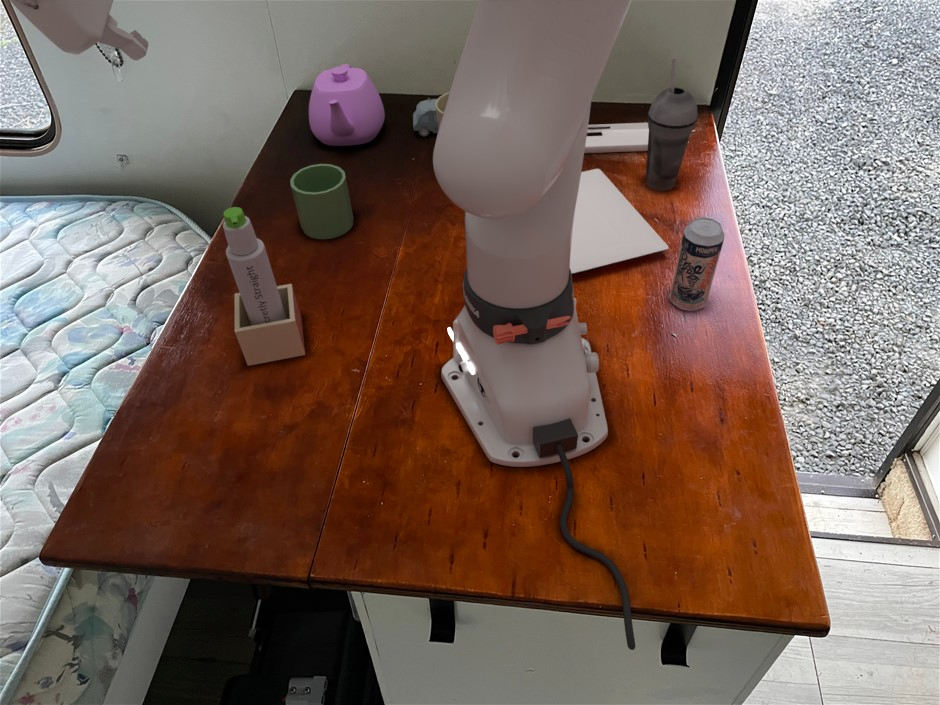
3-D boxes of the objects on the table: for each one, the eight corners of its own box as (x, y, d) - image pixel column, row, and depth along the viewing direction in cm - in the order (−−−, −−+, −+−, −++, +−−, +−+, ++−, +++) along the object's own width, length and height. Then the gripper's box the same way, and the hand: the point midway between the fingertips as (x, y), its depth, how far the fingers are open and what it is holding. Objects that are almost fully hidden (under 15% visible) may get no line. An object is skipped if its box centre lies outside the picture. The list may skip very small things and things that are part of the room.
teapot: (319, 110, 135) (306, 48, 126) (389, 107, 135) (381, 45, 126) (305, 167, 121) (290, 102, 112) (383, 163, 121) (374, 98, 112)
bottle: (255, 353, 90) (207, 224, 76) (262, 329, 93) (218, 201, 79) (289, 352, 90) (248, 223, 76) (295, 328, 93) (256, 200, 79)
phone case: (580, 153, 121) (669, 150, 120) (581, 146, 120) (670, 143, 119) (575, 132, 126) (660, 128, 125) (576, 124, 125) (662, 121, 124)
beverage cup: (683, 197, 111) (710, 72, 96) (636, 194, 112) (655, 69, 97) (683, 172, 115) (708, 49, 101) (638, 169, 117) (656, 47, 102)
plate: (520, 296, 96) (521, 285, 94) (467, 207, 111) (467, 196, 109) (667, 258, 100) (670, 246, 99) (597, 178, 115) (599, 166, 114)
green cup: (356, 234, 107) (348, 188, 101) (303, 243, 106) (292, 197, 100) (350, 205, 113) (342, 160, 107) (300, 213, 111) (288, 168, 106)
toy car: (470, 134, 126) (469, 108, 123) (414, 137, 126) (411, 111, 123) (468, 116, 131) (467, 91, 127) (414, 119, 131) (412, 94, 127)
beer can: (666, 308, 93) (682, 234, 85) (672, 286, 96) (688, 212, 88) (703, 316, 92) (723, 242, 83) (708, 293, 95) (728, 219, 86)
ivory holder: (305, 355, 90) (295, 320, 85) (247, 366, 89) (234, 331, 84) (301, 317, 95) (291, 283, 90) (246, 327, 94) (234, 293, 89)
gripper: (5, -53, 53) (156, 79, 63) (68, -189, 63) (189, -55, 73) (-46, -14, 55) (108, 108, 66) (22, -151, 65) (146, -26, 76)
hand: (151, 21), depth 70 cm, fingers open, 8 cm apart
